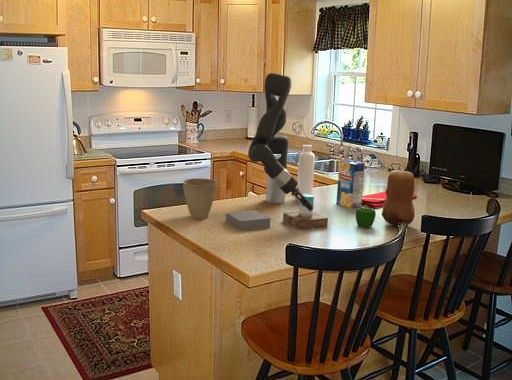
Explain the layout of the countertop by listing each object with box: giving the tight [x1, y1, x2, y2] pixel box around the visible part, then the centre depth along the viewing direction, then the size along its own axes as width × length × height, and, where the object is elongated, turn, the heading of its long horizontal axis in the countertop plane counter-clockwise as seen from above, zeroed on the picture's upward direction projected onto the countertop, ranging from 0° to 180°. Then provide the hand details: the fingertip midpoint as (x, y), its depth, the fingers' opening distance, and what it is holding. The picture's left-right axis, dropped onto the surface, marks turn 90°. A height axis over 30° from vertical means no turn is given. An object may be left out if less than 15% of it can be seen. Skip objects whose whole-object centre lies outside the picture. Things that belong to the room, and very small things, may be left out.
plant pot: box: [182, 177, 218, 220], centre depth 255 cm, size 15×15×16 cm
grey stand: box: [225, 209, 271, 231], centre depth 248 cm, size 14×14×4 cm
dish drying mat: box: [361, 190, 417, 210], centre depth 304 cm, size 16×41×4 cm, turn 136°
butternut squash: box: [381, 169, 415, 228], centre depth 254 cm, size 14×13×25 cm
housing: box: [298, 193, 315, 217], centre depth 251 cm, size 5×5×9 cm
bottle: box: [296, 144, 316, 195], centre depth 296 cm, size 8×8×28 cm
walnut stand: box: [282, 210, 329, 231], centre depth 253 cm, size 14×14×4 cm
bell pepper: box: [355, 205, 377, 229], centre depth 252 cm, size 8×8×10 cm
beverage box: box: [336, 159, 366, 209], centre depth 288 cm, size 7×11×22 cm, turn 35°
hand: (310, 207), depth 252 cm, fingers open, 5 cm apart
